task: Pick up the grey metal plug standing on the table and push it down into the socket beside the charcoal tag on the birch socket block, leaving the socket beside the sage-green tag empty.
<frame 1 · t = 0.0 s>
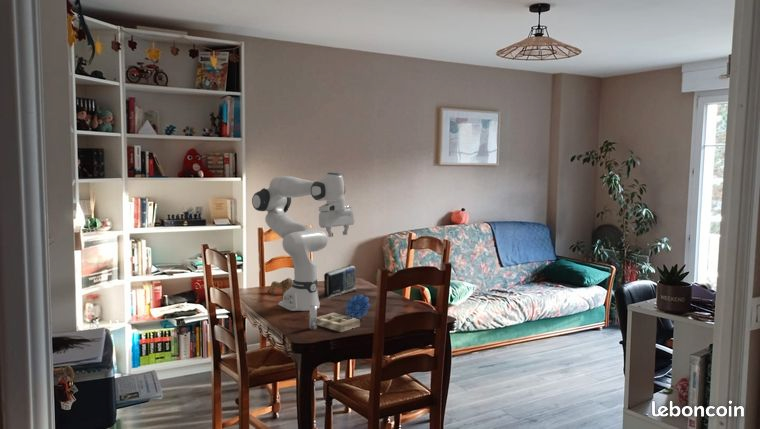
hand: (338, 235, 265), 39 cm above the table, tool pointing down, fingers open, 8 cm apart
radio: (340, 294, 313), on the table
grapes: (357, 319, 265), on the table
lion figurine: (280, 293, 312), on the table
socket block: (337, 325, 254), on the table
plug: (313, 328, 249), on the table
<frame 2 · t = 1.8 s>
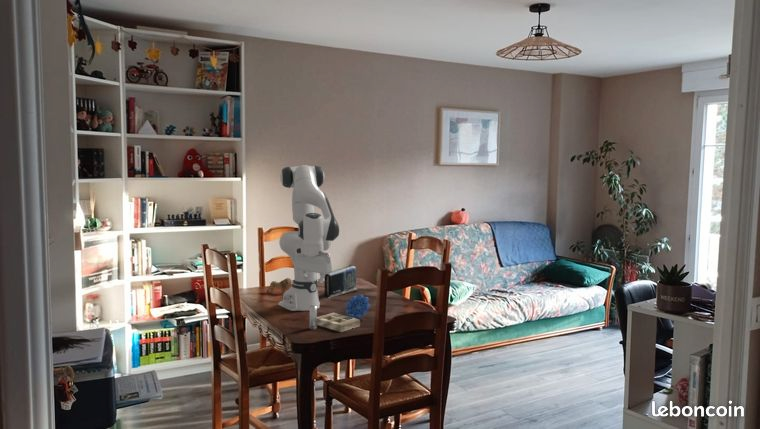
hand: (313, 281, 247), 21 cm above the table, tool pointing down, fingers open, 8 cm apart
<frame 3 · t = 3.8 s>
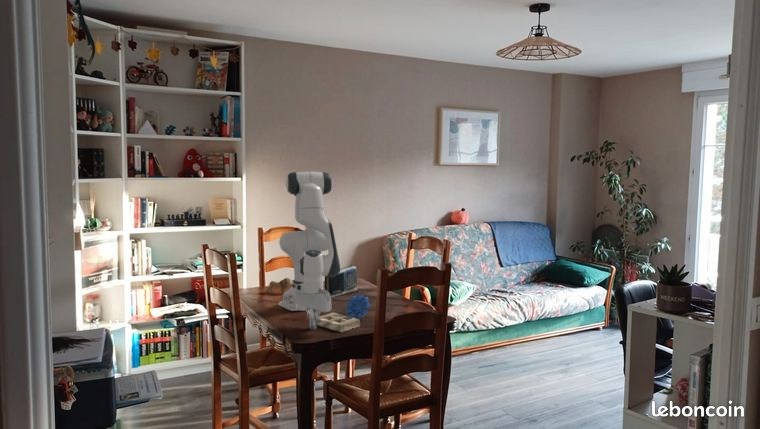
hand: (313, 318, 248), 5 cm above the table, tool pointing down, fingers closed on plug, 3 cm apart
plug: (313, 328, 249), on the table, touching gripper
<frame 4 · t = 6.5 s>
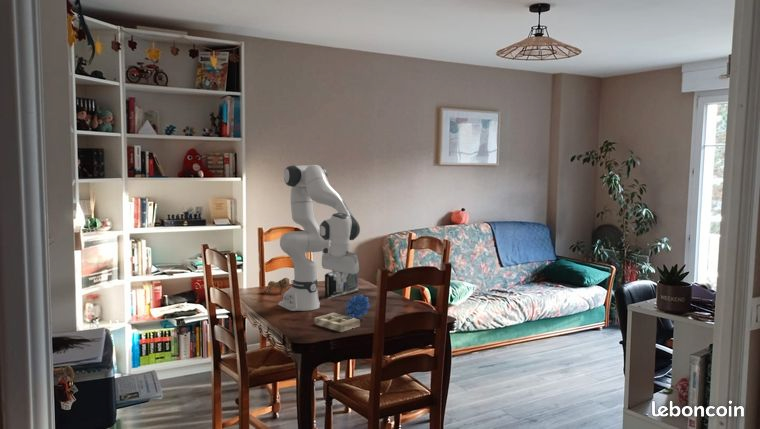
hand: (340, 281, 248), 21 cm above the table, tool pointing down, fingers closed on plug, 3 cm apart
plug: (339, 291, 249), point 16 cm above the table, touching gripper
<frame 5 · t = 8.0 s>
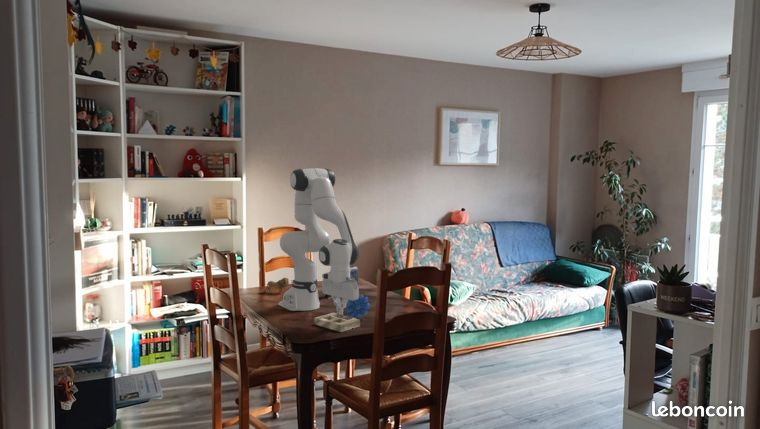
hand: (340, 306, 249), 9 cm above the table, tool pointing down, fingers closed on plug, 3 cm apart
plug: (340, 316, 250), point 5 cm above the table, touching gripper
when the fingers open (6 cm above the table, at t = 9.0 s): plug drops 1 cm, resting in socket block.
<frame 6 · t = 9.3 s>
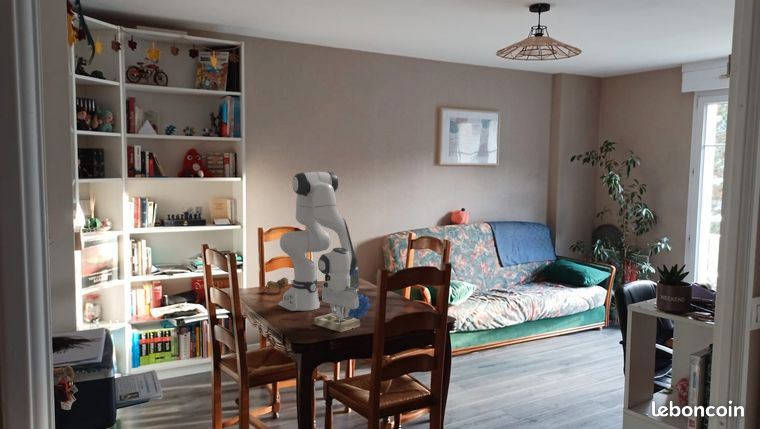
hand: (340, 315, 250), 6 cm above the table, tool pointing down, fingers open, 6 cm apart
plug: (339, 327, 250), resting in socket block
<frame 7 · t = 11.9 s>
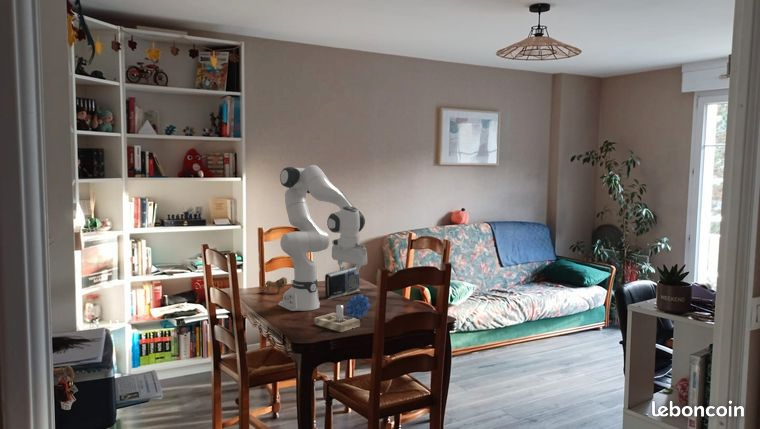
hand: (349, 272, 257), 23 cm above the table, tool pointing down, fingers open, 8 cm apart
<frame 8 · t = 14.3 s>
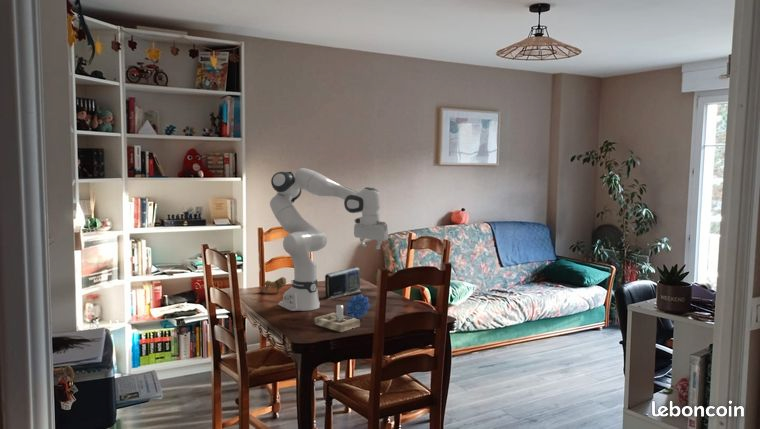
hand: (370, 248, 278), 31 cm above the table, tool pointing down, fingers open, 8 cm apart
at the end: plug 0.1 cm from the target spot on the socket block, point 0.0 cm above the socket block's base; plug tilted 0°; the gripper is holding nothing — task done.
